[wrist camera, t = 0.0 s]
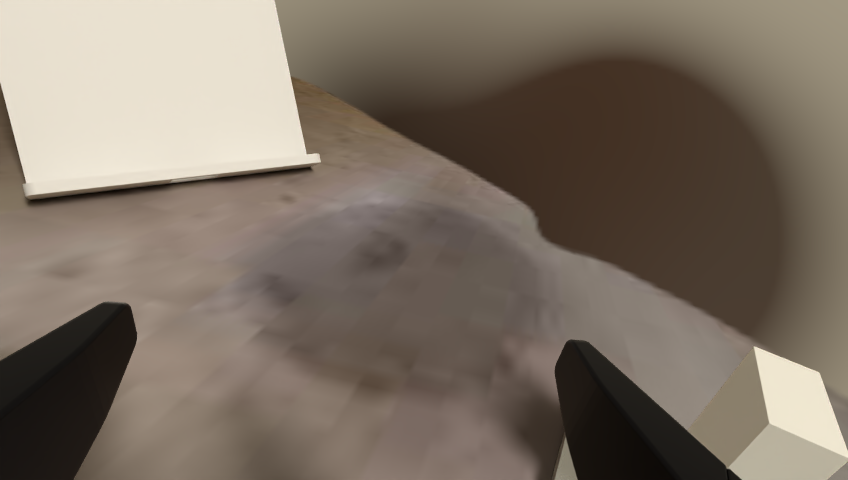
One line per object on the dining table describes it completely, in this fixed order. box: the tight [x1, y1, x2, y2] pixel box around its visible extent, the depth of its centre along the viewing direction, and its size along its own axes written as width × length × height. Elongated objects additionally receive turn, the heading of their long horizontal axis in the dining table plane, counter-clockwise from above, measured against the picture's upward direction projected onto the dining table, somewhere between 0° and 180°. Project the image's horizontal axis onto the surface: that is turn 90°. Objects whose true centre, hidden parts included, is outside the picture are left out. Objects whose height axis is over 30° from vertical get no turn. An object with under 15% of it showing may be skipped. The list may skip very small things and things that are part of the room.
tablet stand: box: [0, 0, 321, 200], centre depth 45 cm, size 18×25×17 cm
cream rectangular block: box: [688, 347, 848, 480], centre depth 21 cm, size 4×2×10 cm, turn 153°
